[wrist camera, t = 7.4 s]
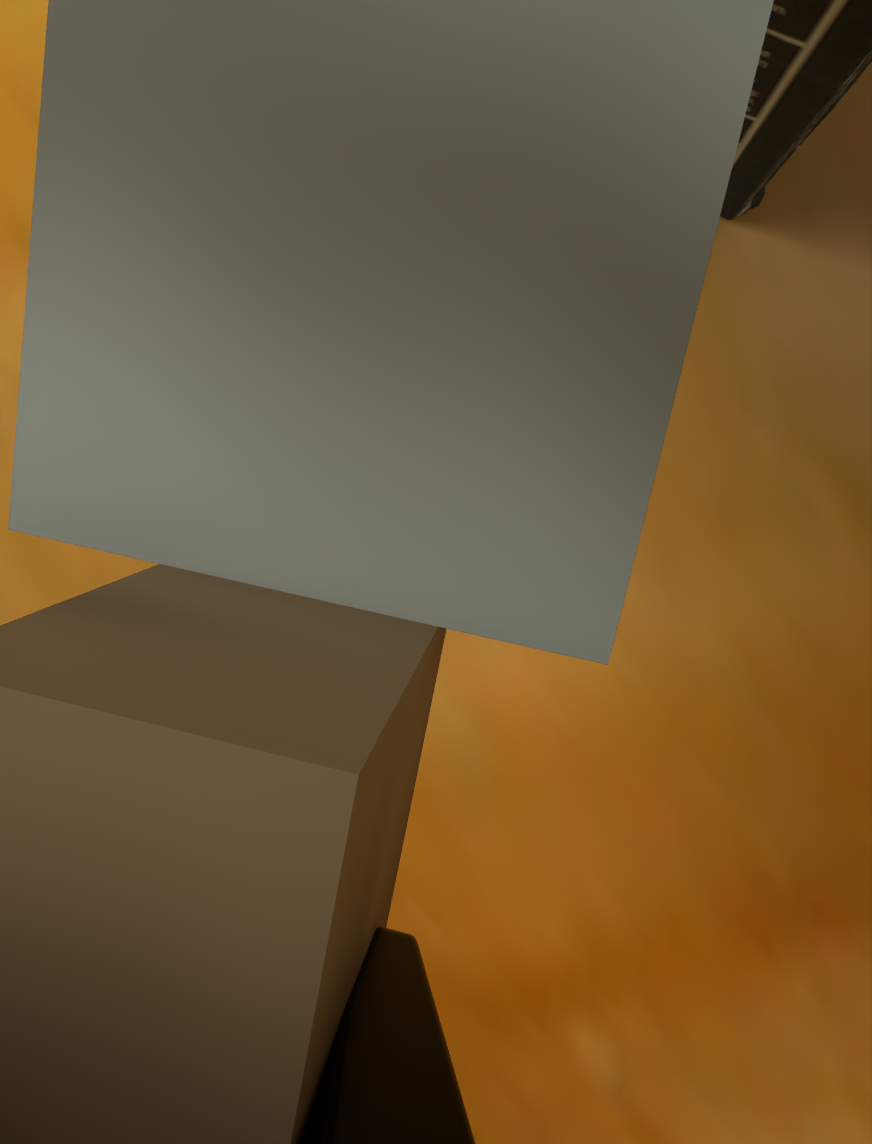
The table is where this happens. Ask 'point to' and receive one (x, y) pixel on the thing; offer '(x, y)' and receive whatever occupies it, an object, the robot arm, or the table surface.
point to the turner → (312, 486)
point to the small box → (796, 87)
